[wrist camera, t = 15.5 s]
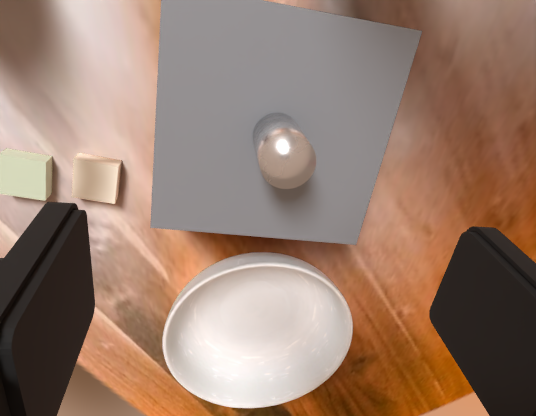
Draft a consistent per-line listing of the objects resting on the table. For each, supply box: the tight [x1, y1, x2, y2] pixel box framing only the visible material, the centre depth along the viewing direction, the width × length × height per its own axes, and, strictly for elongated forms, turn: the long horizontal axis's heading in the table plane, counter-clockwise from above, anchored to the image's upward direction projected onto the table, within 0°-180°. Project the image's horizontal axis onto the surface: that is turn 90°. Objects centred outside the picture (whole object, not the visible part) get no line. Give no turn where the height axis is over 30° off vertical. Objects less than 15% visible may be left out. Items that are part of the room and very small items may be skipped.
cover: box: [150, 0, 422, 245], centre depth 33 cm, size 18×18×15 cm
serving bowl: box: [163, 252, 353, 408], centre depth 47 cm, size 21×21×7 cm
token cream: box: [72, 153, 122, 204], centre depth 40 cm, size 4×4×2 cm
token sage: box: [0, 148, 52, 201], centre depth 39 cm, size 4×4×2 cm
